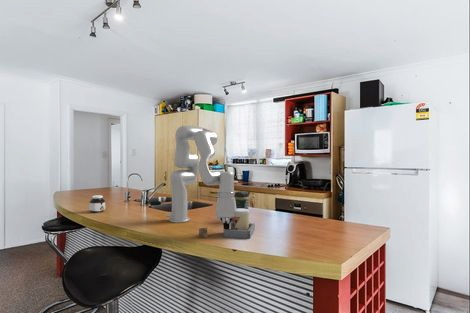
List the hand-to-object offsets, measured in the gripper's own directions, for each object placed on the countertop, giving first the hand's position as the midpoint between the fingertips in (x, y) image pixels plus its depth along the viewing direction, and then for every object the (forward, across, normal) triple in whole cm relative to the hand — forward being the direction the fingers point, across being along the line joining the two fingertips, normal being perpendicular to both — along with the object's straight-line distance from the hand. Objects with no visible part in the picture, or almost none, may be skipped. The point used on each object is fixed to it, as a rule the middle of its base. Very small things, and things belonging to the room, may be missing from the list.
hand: (226, 230), depth 144 cm
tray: (+1, +6, 0) cm, 7 cm away
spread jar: (+2, -107, +36) cm, 112 cm away
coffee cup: (+1, +7, +1) cm, 8 cm away
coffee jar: (+1, +2, +29) cm, 29 cm away
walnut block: (+1, -10, -10) cm, 14 cm away
